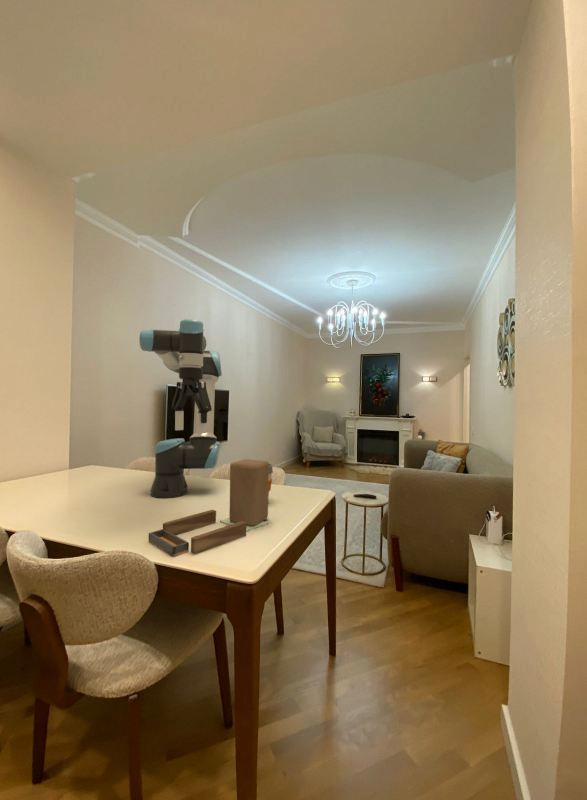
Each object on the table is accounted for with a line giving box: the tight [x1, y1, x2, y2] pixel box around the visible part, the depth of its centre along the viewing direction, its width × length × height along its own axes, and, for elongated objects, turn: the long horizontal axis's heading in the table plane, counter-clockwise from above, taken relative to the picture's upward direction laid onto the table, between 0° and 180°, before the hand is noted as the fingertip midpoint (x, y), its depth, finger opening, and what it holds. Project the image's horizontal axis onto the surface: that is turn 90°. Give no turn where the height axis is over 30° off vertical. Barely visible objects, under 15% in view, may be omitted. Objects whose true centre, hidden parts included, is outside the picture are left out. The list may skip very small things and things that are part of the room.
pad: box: [219, 517, 269, 533], centre depth 120 cm, size 13×10×1 cm
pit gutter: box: [148, 528, 190, 557], centre depth 100 cm, size 14×4×2 cm, turn 48°
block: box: [228, 458, 270, 526], centre depth 121 cm, size 10×10×20 cm
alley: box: [162, 509, 247, 555], centre depth 108 cm, size 18×18×4 cm
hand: (190, 431), depth 117 cm, fingers open, 13 cm apart
